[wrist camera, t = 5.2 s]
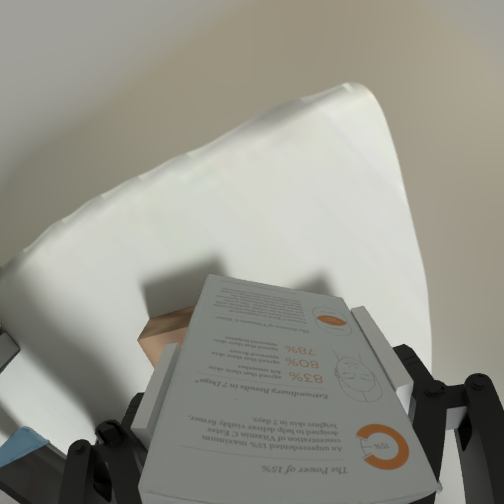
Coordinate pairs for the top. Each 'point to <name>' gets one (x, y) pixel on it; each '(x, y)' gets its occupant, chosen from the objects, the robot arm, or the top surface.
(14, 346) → the graphics card
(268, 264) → the top surface
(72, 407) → the top surface
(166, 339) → the walnut block
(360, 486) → the small box
